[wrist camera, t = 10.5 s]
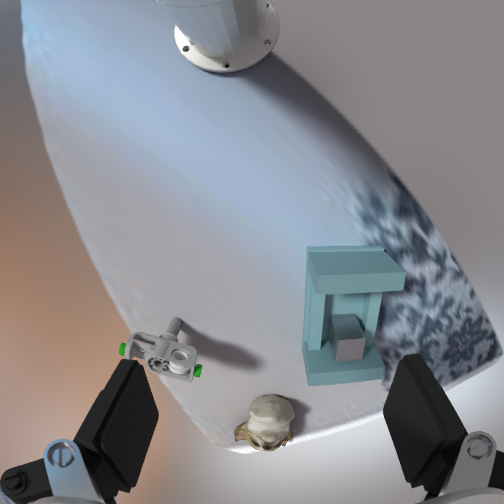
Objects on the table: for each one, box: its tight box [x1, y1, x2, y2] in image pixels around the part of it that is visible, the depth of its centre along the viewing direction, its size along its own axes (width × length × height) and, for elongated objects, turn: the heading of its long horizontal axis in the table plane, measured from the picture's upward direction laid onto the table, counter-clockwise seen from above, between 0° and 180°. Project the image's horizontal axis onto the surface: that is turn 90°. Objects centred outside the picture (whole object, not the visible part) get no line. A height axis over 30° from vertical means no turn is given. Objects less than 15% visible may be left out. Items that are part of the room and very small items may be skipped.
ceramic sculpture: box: [234, 395, 295, 451], centre depth 44 cm, size 11×9×15 cm
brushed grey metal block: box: [327, 313, 366, 362], centre depth 37 cm, size 4×4×6 cm
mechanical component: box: [119, 317, 202, 383], centre depth 37 cm, size 3×10×10 cm, turn 77°
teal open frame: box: [302, 246, 406, 386], centre depth 36 cm, size 16×10×8 cm, turn 2°
